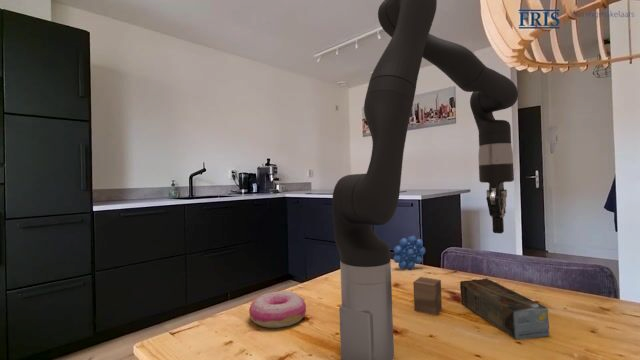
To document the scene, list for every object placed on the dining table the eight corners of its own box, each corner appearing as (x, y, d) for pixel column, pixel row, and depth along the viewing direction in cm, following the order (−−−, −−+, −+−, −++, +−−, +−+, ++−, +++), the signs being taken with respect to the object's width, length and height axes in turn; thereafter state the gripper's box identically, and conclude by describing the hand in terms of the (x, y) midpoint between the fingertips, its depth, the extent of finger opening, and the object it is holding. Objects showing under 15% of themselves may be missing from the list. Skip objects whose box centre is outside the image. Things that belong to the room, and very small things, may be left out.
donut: (264, 338, 65) (263, 314, 65) (240, 317, 76) (239, 297, 76) (317, 320, 73) (316, 299, 73) (288, 303, 84) (288, 285, 84)
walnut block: (435, 315, 73) (434, 285, 74) (414, 310, 77) (413, 281, 77) (441, 308, 77) (440, 279, 77) (421, 304, 80) (420, 276, 81)
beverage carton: (514, 341, 61) (512, 307, 61) (459, 304, 80) (458, 278, 80) (551, 337, 62) (549, 304, 62) (488, 302, 81) (487, 276, 81)
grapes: (421, 265, 117) (420, 233, 117) (428, 270, 110) (427, 236, 110) (390, 266, 116) (389, 234, 116) (396, 271, 110) (394, 237, 110)
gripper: (509, 161, 71) (512, 238, 70) (516, 163, 81) (519, 230, 81) (473, 163, 75) (475, 235, 75) (484, 164, 86) (486, 228, 85)
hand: (498, 232), depth 78 cm, fingers closed
